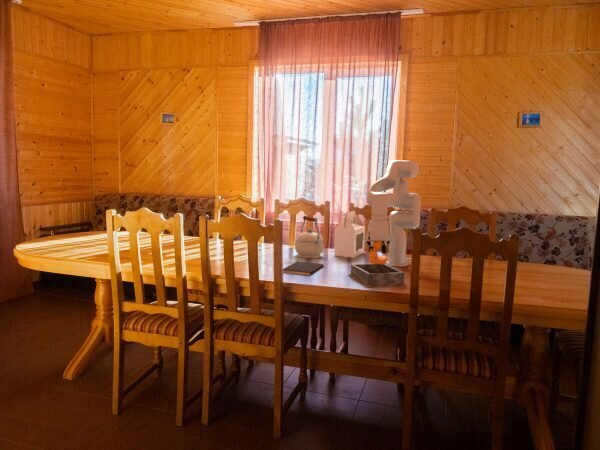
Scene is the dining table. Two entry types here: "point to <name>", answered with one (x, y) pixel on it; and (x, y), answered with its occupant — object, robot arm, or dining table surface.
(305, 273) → the hardcover book
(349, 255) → the gable box
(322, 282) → the dining table surface
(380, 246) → the bracket
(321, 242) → the kettle
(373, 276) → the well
